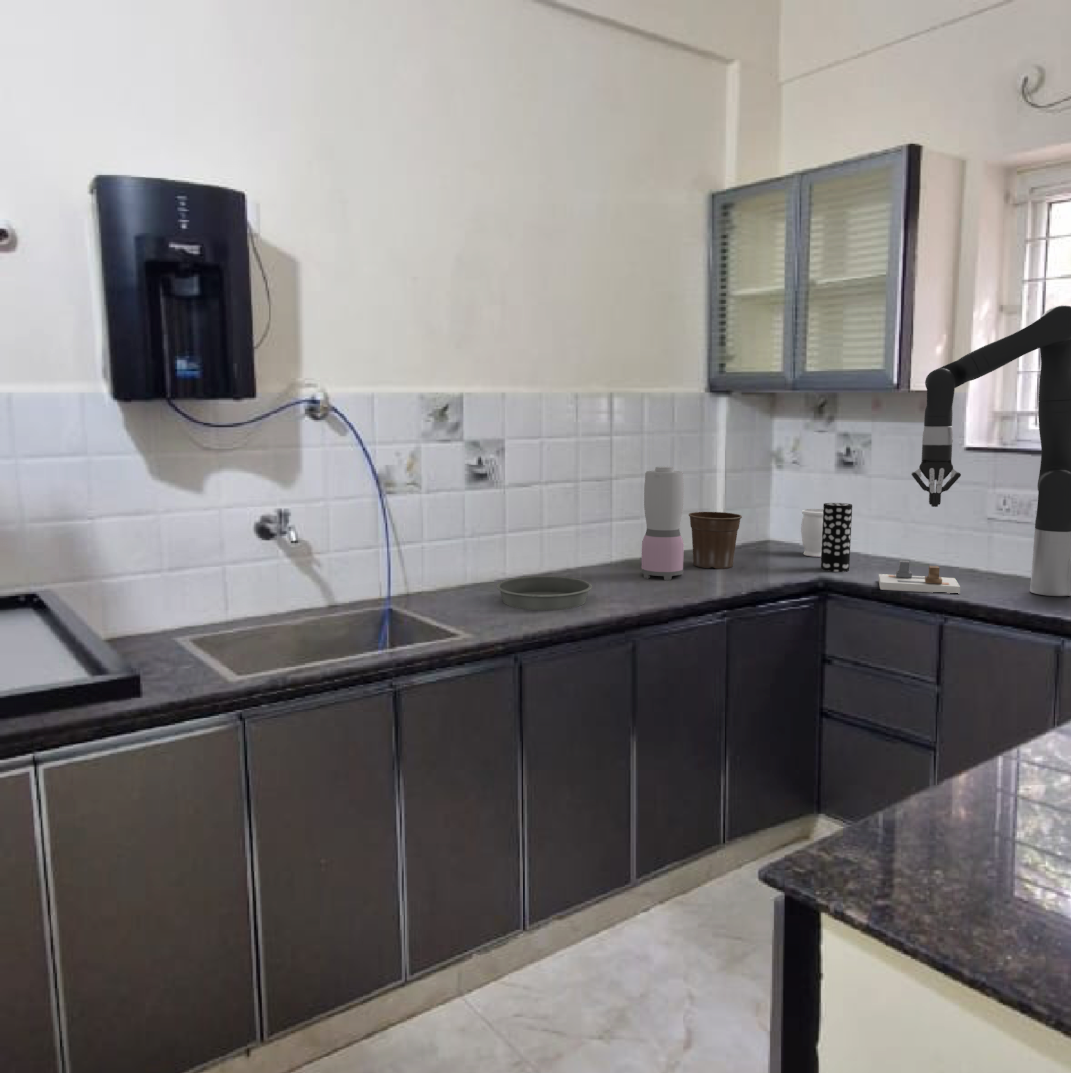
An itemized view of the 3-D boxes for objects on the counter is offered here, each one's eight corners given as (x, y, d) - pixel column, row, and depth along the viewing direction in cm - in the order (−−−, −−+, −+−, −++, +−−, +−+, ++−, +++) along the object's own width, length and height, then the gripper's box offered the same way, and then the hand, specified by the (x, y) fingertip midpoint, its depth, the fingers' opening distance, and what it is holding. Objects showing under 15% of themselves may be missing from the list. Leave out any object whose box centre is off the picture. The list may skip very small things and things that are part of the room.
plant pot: (750, 566, 296) (752, 514, 294) (719, 572, 285) (720, 519, 283) (708, 559, 308) (710, 510, 306) (676, 565, 297) (677, 514, 295)
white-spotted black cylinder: (850, 572, 286) (853, 506, 283) (821, 571, 287) (824, 505, 284) (847, 567, 294) (850, 503, 291) (819, 566, 295) (822, 502, 292)
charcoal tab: (910, 575, 268) (911, 560, 268) (911, 577, 265) (912, 562, 264) (895, 574, 269) (896, 559, 269) (896, 576, 266) (897, 562, 265)
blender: (675, 581, 271) (678, 469, 266) (635, 578, 276) (637, 467, 271) (691, 572, 285) (693, 465, 280) (652, 569, 290) (654, 464, 285)
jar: (812, 551, 324) (814, 508, 322) (839, 555, 316) (841, 510, 314) (793, 555, 317) (795, 510, 315) (820, 559, 310) (822, 513, 307)
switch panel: (954, 585, 266) (954, 577, 266) (959, 594, 254) (960, 586, 254) (878, 580, 272) (878, 573, 272) (880, 589, 260) (880, 581, 260)
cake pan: (476, 601, 245) (476, 584, 244) (544, 588, 262) (544, 572, 261) (543, 617, 228) (543, 598, 227) (611, 602, 245) (611, 584, 244)
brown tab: (940, 581, 260) (941, 566, 259) (941, 583, 256) (942, 568, 256) (924, 580, 261) (925, 565, 260) (925, 582, 257) (926, 567, 257)
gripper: (961, 442, 261) (958, 505, 263) (909, 442, 264) (907, 504, 267) (965, 443, 253) (962, 508, 256) (912, 443, 257) (909, 507, 259)
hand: (934, 506), depth 261 cm, fingers closed
